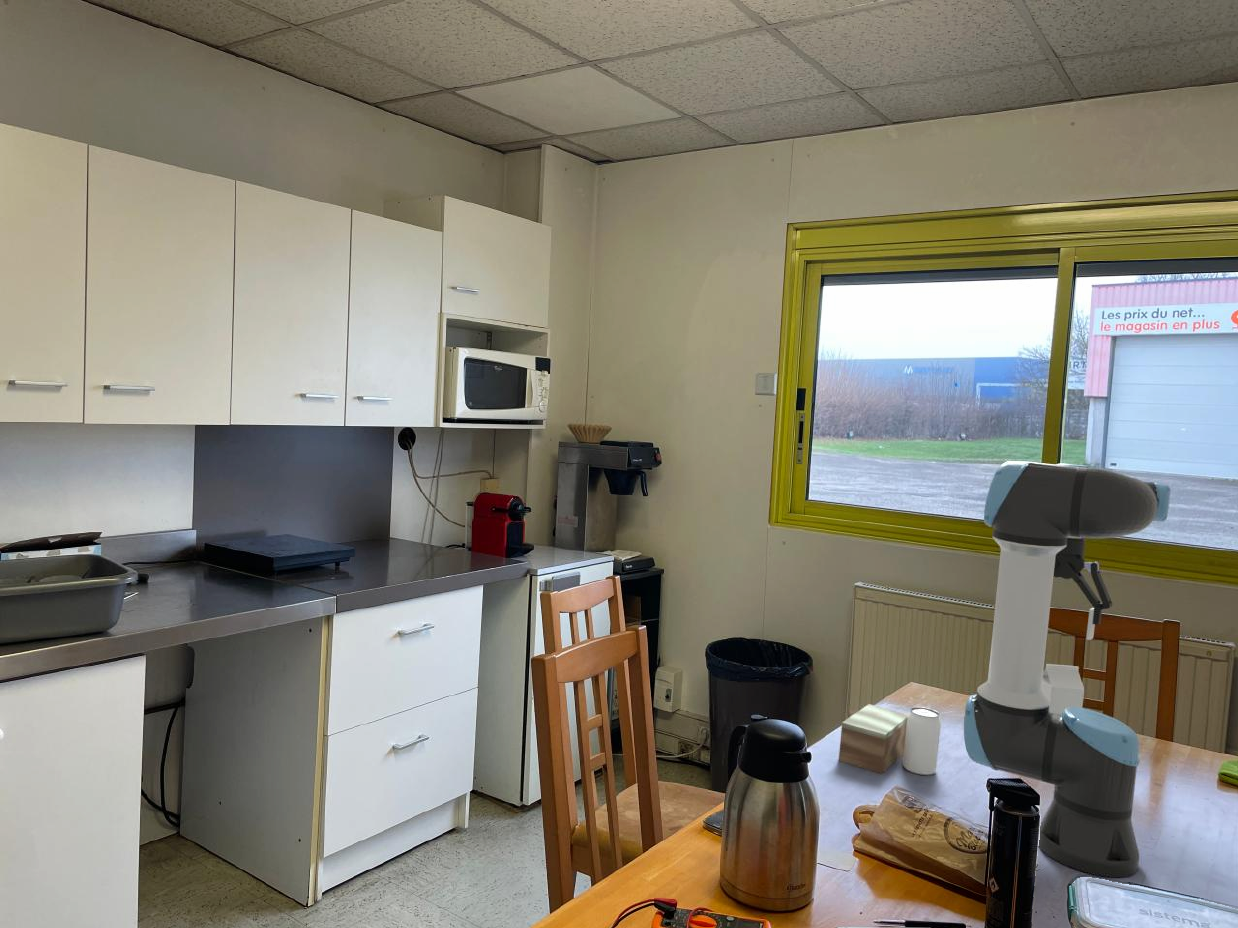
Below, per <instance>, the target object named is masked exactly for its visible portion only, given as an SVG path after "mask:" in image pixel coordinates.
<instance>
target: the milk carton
mask: <svg viewBox="0 0 1238 928" xmlns="http://www.w3.org/2000/svg"><path fill="white" fill-rule="evenodd" d="M1079 669H1080V667H1079V666H1074V665H1064V664H1053V663H1052V664H1051V663H1046V665H1045V669H1043V679H1042V688H1041V690H1042V692H1043V693H1044V694H1045V695H1046V697H1047V698H1048V699H1049V701H1050V705H1049V712H1051V713H1055V714H1059V715H1062V712H1063V711H1064V710H1065V709H1066V708H1069V707H1077V708H1080V709H1082V708H1083V704H1084V697H1085V696H1084V695H1085V687H1084V684H1083V682H1082V681H1083V680H1082V679H1081V676H1080V672H1079V671H1080V670H1079Z"/></svg>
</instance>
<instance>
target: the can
mask: <svg viewBox="0 0 1238 928" xmlns="http://www.w3.org/2000/svg"><path fill="white" fill-rule="evenodd" d="M908 714H909V715H908V717H907V726H906V735H905V745H904V754H903V755H902V756H903V757H902V766H903V767H904V769H905V770H906V771H907V772H910V773H911V774H915V775H919V776H931V775H933V774H935V773H936V772H937V765H938V756H939V748H940V747H939V744H940V736H941V726H942V721H941V718H940V713H939V712H938V711H936V710H934V709H931V708H928V707H925V706H924V707H923V706H922V707H921V706H914V707H911V708H910V712H909V713H908Z"/></svg>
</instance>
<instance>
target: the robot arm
mask: <svg viewBox="0 0 1238 928" xmlns="http://www.w3.org/2000/svg"><path fill="white" fill-rule="evenodd" d="M987 492H988V493H987V496H986V499H985V504H984V510H983V514H984V515H983V523H984V524H985V525H986V526H988V527H990V528H993V529H992V539H993V540H994V541H995V542H996V543H997V545H998V546H999V549H1000V554H999V555H1000V557H999V565H998V566H999V567H998V573H997V574H998V576H997V577H998V578H997V587H996V594H995V595H996V596H995V605H994V606H995V607H994V614H993V627H992V634H991V635H992V636H991V645H990V653H989V654H990V655H989V657H990V658H989V666H988V677H987V680H986V681H984V683H982V684H980V685H979V686H978V687H977V692H976V694H971V695H970V696H969V697H967V700H966V702H965V703H966V704H965V708H964V716H963V738H964V739H963V741H964V745H965V747H964V748H965V750H966V753H967V754H968V757H969V759H971V761H972V762H974V763H976V764H979V765H981V766H985V767H988V768H991V770H994V771H1001V772H1005V773H1009V774H1013V775H1016V776H1021V777H1023V778H1027V779H1032V780H1035V781H1039V782H1043V783H1047V784H1051V785H1054V791H1053V799H1052V801H1051V803H1050V805H1049V807H1048V809H1047V810H1046V812H1045V814H1044V816H1043V818H1042V819H1041V822H1040V824H1041V826H1040V825H1039V826H1040V840H1039V846H1038V847H1039V849H1040V850H1041V851H1042V852H1043V853H1045V854H1046V855H1047V856H1048V857H1049V858H1051V859H1053V860H1055V861H1056V862H1059V863H1060V864H1063V865H1064V866H1067V867H1069V866H1070V867H1069V868H1071V867H1072V869H1074V868H1075V870H1077V869H1078V870H1077V871H1080V870H1081V871H1080V872H1083V871H1086V872H1085V873H1087V872H1088V873H1087V874H1091V873H1092V875H1096V876H1101V877H1102V876H1103V877H1108V878H1109V877H1110V878H1125V877H1129V876H1132V875H1135V874H1136V873H1137V872H1138V870H1139V862H1140V852H1139V848H1138V843H1137V839H1136V835H1135V830H1134V827H1133V822H1132V814H1133V808H1134V807H1133V806H1134V800H1135V799H1134V798H1135V797H1134V796H1135V790H1136V789H1135V787H1136V779H1137V778H1136V777H1137V770H1138V767H1139V765H1140V758H1139V754H1140V753H1139V752H1140V739H1139V736H1138V734H1137V733H1136V732H1135V731H1134V730H1133V728H1131V727H1130V726H1128V725H1127V724H1126V723H1124V722H1123V721H1120V720H1118V718H1117V719H1116V718H1114V717H1112V716H1111V715H1110V716H1109V715H1107V714H1104V713H1102V712H1099V711H1095V710H1092V709H1089V708H1084V707H1082V709H1080V708H1077V707H1069V708H1066V709H1065V710H1064V711H1063V712H1062V715H1059V714H1055V713H1051V712H1049V705H1050V701H1049V699H1048V698H1047V697H1046V695H1045V694H1044V693H1043V692H1042V690H1041V688H1042V679H1043V671H1044V670H1045V669H1044V668H1045V659H1046V650H1047V649H1046V648H1047V639H1048V632H1049V630H1048V629H1049V621H1050V610H1051V604H1052V603H1051V602H1052V594H1053V593H1052V592H1053V586H1054V585H1053V583H1054V582H1053V581H1054V578H1062V579H1064V580H1070V579H1072V580H1073V582H1074V583H1075V584H1077V586H1078V587H1079V589H1080V591H1081V592H1082V593H1083V595H1084V596H1085V597H1086V599H1087V601H1088V602H1089V603H1090V604H1091V606H1092V608H1089V611H1088V619H1087V620H1088V622H1087V627H1086V628H1087V629H1086V638H1085V640H1088V641H1091V640H1093V639H1094V634H1095V627H1096V625H1097V626H1098V625H1100V624H1101V622H1102V613H1103V612H1102V611H1103V610H1106V609H1110V608H1112V607H1113V602H1112V599H1111V597H1110V594H1109V592H1108V590H1107V586H1106V585H1105V582H1104V579H1103V578H1102V573H1101V567H1100V566H1101V565H1100V563H1099V561H1094V562H1092V561H1091V562H1090V561H1087V562H1086V561H1085V558H1084V556H1085V549H1086V548H1085V547H1086V542H1087V541H1086V539H1108V538H1109V539H1110V538H1117V537H1118V538H1119V537H1124V536H1129V535H1133V534H1136V533H1140V532H1141V531H1143V530H1145V529H1147V527H1148V526H1150V525H1151V524H1152V522H1160V523H1161V522H1162V523H1163V522H1165V521H1166V520H1167V519H1168V516H1169V515H1168V514H1169V507H1170V499H1171V488H1170V486H1169V485H1167V484H1164V483H1156V482H1154V481H1152V482H1151V481H1149V482H1147V481H1142V480H1141V479H1138V478H1136V477H1131V476H1127V475H1125V474H1122V473H1118V472H1115V471H1111V470H1106V469H1101V468H1094V467H1092V466H1089V465H1084V464H1073V463H1060V462H1059V463H1057V464H1054V463H1053V464H1051V463H1044V462H1043V463H1042V462H1033V461H1030V460H1029V461H1006V462H1004V463H1002V464H1001V465H999V467H998V468H997V470H996V471H995V473H994V475H993V477H992V480H991V482H990V485H989V489H988V491H987ZM1084 568H1086V569H1087V572H1088V573H1090V576H1091V579H1092V580H1093V584H1094V586H1095V588H1096V591H1097V593H1098V596H1099V597H1098V596H1097V595H1096V593H1095V592H1094V590H1093V589H1092V587H1091V586H1090V585H1089V583H1088V582H1087V581H1086V580H1085V576H1083V574H1082V573H1081V571H1082V570H1083V569H1084ZM1099 598H1100V599H1099Z"/></svg>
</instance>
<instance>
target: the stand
mask: <svg viewBox="0 0 1238 928" xmlns="http://www.w3.org/2000/svg"><path fill="white" fill-rule="evenodd" d="M908 715H909V713H904V712H900V711H897V710H893V709H889V708H885V707H881V706H877V705H874V704H870V703H868V704H866V706H864V707H862V708H861V709H860V710H858V711H857V712H856V713H853V714H852V715H851V716H849V717H848V718H846V719H844V721H842V722H841V731H840V742H839V743H840V744H839V753H838V761H839V762H842V763H845V764H848V765H852V766H855V767H859V768H862V769H865V770H868V771H872V772H876V773H878V774H884V772H886V770H888V769H889V768H890V767H891V766H892V765H893V764H895V762H897V761H898V760H899V759H900V758H901V757H902V756H903V755H904V745H905V735H906V726H907V717H908Z"/></svg>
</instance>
